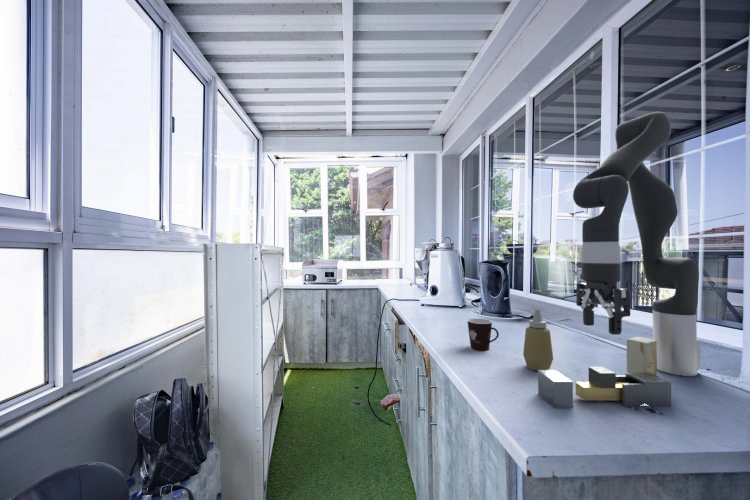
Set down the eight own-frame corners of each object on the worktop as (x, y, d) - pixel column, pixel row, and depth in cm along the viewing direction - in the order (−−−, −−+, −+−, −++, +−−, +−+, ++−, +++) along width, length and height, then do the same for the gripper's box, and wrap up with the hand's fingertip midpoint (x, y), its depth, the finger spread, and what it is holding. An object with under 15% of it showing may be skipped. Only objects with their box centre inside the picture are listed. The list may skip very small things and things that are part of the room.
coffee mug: (464, 345, 116) (463, 318, 116) (485, 344, 117) (485, 318, 117) (476, 355, 105) (476, 326, 105) (501, 354, 105) (500, 325, 105)
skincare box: (646, 391, 77) (646, 343, 77) (626, 385, 81) (625, 338, 81) (658, 386, 80) (657, 339, 80) (637, 380, 84) (637, 335, 84)
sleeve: (650, 395, 75) (650, 372, 75) (671, 406, 70) (671, 382, 70) (607, 395, 75) (607, 372, 75) (625, 406, 70) (624, 382, 70)
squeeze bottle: (557, 374, 88) (557, 312, 88) (527, 372, 89) (526, 311, 90) (547, 364, 96) (547, 307, 96) (520, 362, 97) (519, 306, 97)
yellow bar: (648, 393, 74) (648, 366, 74) (664, 401, 70) (663, 373, 70) (574, 393, 75) (574, 366, 75) (585, 401, 71) (585, 373, 71)
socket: (555, 393, 76) (554, 369, 76) (573, 408, 69) (572, 381, 69) (538, 393, 76) (537, 369, 76) (554, 408, 69) (554, 381, 69)
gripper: (642, 262, 66) (642, 337, 65) (595, 260, 80) (595, 322, 80) (606, 262, 66) (607, 337, 66) (566, 260, 80) (566, 322, 80)
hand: (600, 329), depth 73 cm, fingers open, 8 cm apart
